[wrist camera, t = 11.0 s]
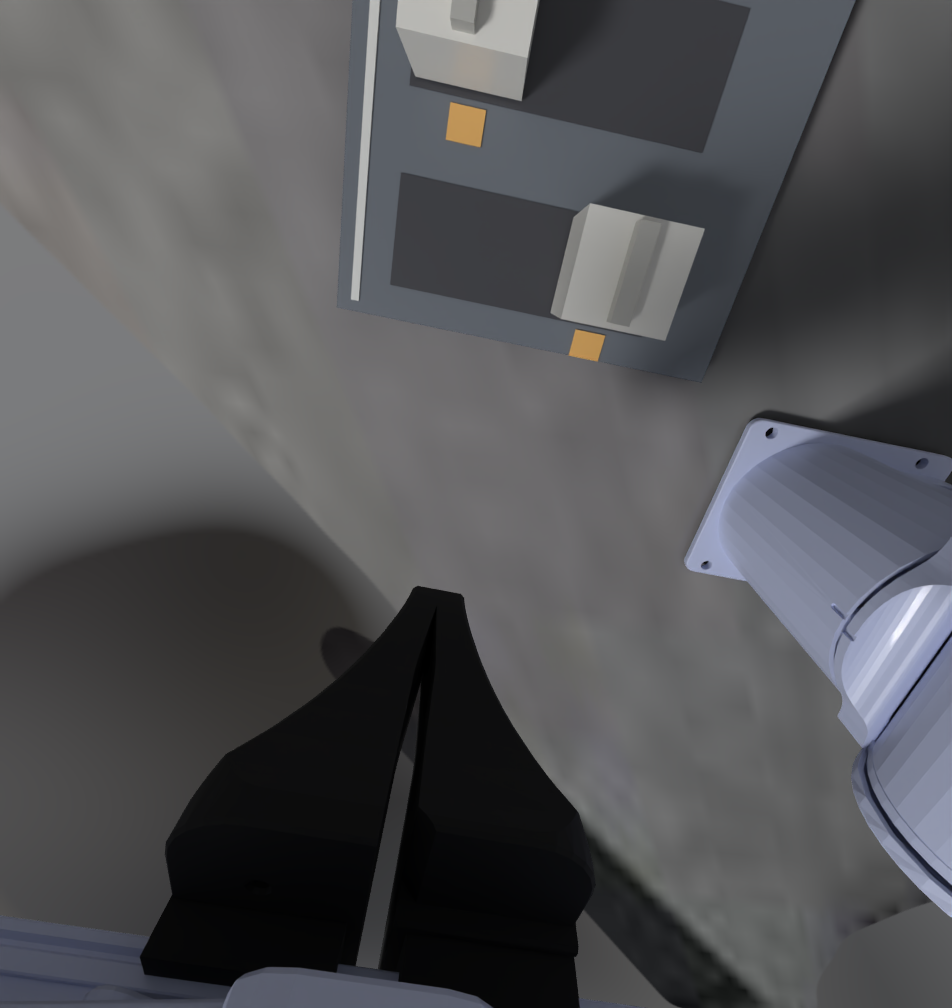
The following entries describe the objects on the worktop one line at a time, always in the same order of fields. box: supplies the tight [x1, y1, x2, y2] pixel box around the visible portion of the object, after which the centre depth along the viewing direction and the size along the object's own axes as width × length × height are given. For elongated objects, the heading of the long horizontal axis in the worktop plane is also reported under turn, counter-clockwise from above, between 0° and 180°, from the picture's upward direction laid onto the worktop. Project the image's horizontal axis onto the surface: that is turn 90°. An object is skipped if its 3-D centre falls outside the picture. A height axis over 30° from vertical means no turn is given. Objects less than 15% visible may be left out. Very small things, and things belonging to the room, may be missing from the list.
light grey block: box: [550, 203, 705, 341], centre depth 15 cm, size 4×3×4 cm
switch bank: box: [337, 0, 856, 383], centre depth 15 cm, size 15×18×1 cm
